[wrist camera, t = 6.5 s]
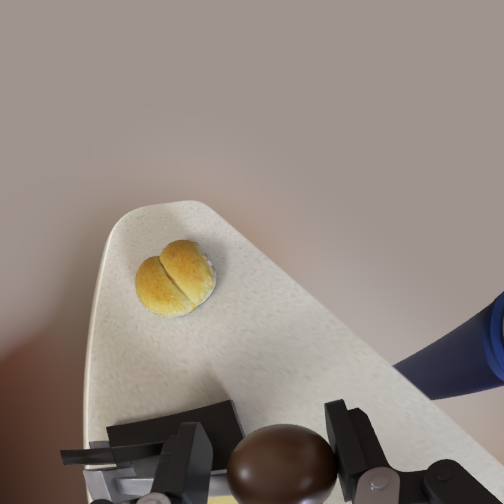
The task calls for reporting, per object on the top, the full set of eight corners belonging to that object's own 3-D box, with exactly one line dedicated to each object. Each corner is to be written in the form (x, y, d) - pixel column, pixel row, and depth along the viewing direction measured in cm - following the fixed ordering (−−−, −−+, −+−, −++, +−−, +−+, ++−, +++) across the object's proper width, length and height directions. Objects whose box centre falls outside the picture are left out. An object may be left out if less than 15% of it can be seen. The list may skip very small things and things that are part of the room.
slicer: (232, 399, 25) (175, 389, 13) (267, 491, 20) (238, 555, 8) (111, 427, 24) (13, 416, 13) (138, 509, 19) (49, 540, 7)
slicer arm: (328, 402, 10) (290, 421, 7) (361, 482, 8) (333, 529, 5) (117, 454, 15) (67, 457, 12) (133, 503, 13) (85, 513, 10)
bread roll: (134, 279, 33) (117, 263, 30) (195, 239, 35) (184, 219, 31) (160, 335, 29) (142, 324, 26) (230, 291, 31) (221, 274, 27)
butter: (242, 466, 20) (233, 474, 17) (256, 502, 18) (250, 514, 15) (200, 475, 20) (187, 482, 17) (215, 510, 18) (203, 521, 15)
